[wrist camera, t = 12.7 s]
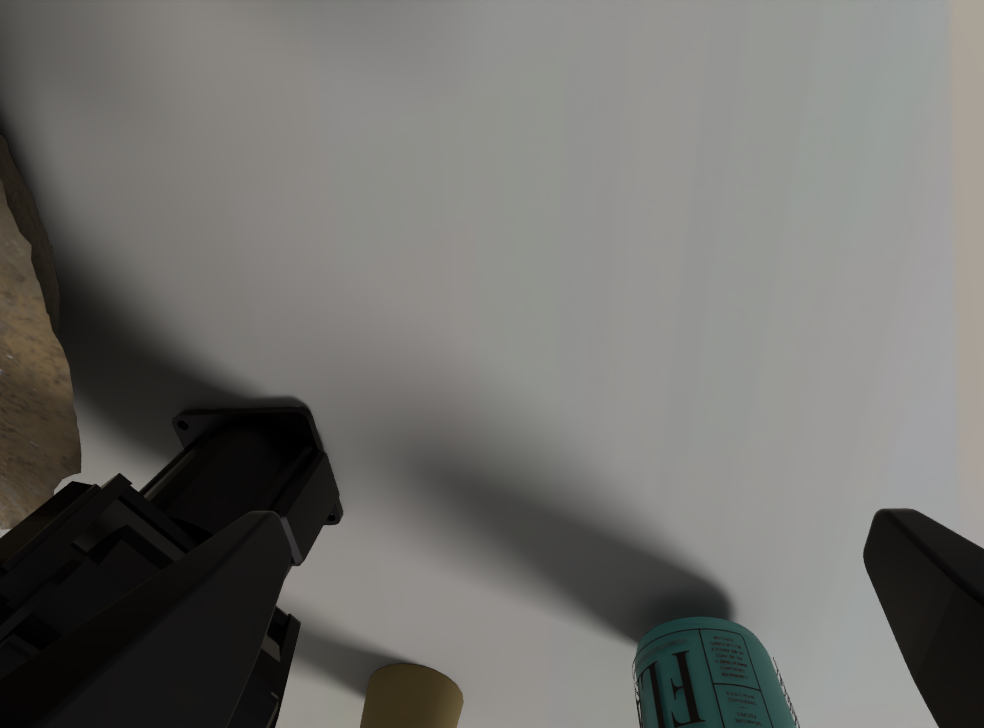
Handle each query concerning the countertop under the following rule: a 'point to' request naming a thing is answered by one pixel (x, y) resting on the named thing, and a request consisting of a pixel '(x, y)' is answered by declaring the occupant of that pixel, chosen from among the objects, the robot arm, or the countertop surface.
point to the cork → (411, 699)
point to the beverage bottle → (707, 678)
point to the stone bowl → (30, 359)
